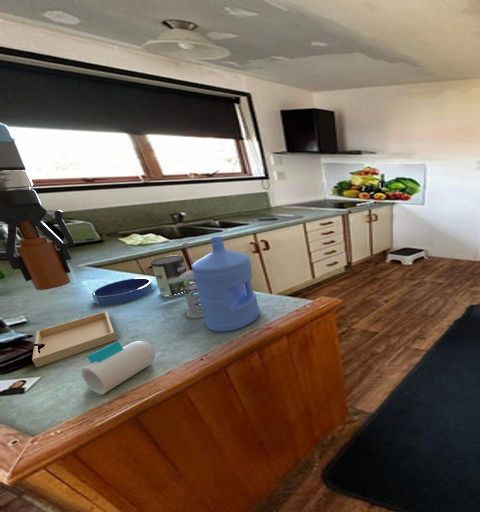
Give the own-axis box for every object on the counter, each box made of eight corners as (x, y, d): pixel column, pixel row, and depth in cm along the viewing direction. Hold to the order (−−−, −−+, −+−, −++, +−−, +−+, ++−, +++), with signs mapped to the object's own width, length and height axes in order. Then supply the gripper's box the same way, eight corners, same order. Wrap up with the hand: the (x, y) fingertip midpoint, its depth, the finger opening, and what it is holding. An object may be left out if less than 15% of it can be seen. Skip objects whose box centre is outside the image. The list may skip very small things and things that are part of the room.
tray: (36, 367, 70) (32, 359, 69) (39, 338, 82) (36, 331, 81) (116, 339, 80) (113, 332, 79) (109, 317, 92) (106, 310, 92)
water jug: (197, 335, 82) (172, 246, 72) (219, 309, 96) (200, 233, 87) (252, 330, 84) (234, 243, 75) (265, 305, 98) (251, 230, 89)
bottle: (34, 292, 71) (2, 224, 65) (36, 285, 75) (5, 221, 69) (70, 284, 75) (43, 220, 70) (70, 278, 79) (44, 217, 74)
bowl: (97, 311, 96) (93, 301, 95) (94, 296, 107) (90, 287, 106) (158, 294, 108) (155, 285, 107) (149, 282, 119) (146, 274, 118)
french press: (179, 314, 93) (159, 245, 85) (211, 299, 103) (195, 236, 95) (199, 320, 90) (179, 248, 82) (229, 304, 100) (215, 238, 92)
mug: (146, 327, 68) (85, 358, 58) (166, 356, 70) (110, 392, 59) (123, 335, 73) (62, 366, 62) (142, 363, 75) (86, 398, 64)
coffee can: (195, 285, 116) (187, 254, 112) (186, 295, 107) (177, 262, 102) (167, 288, 113) (157, 256, 109) (155, 299, 104) (144, 265, 100)
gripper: (-67, 193, 57) (-13, 291, 65) (68, 187, 71) (100, 268, 79) (-57, 191, 62) (-9, 283, 70) (68, 185, 76) (97, 262, 83)
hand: (49, 275), depth 74 cm, fingers closed on bottle, 6 cm apart
